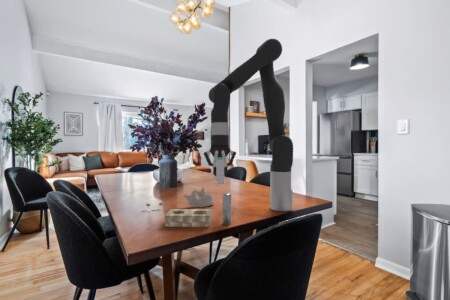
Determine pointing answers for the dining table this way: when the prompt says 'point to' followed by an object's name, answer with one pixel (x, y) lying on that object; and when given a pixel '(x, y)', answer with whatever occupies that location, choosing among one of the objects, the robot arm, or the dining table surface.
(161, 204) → the diorama
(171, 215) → the socket block
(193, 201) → the grey spiky piece
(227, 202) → the round bit
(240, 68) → the robot arm
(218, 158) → the square bit
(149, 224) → the dining table surface
